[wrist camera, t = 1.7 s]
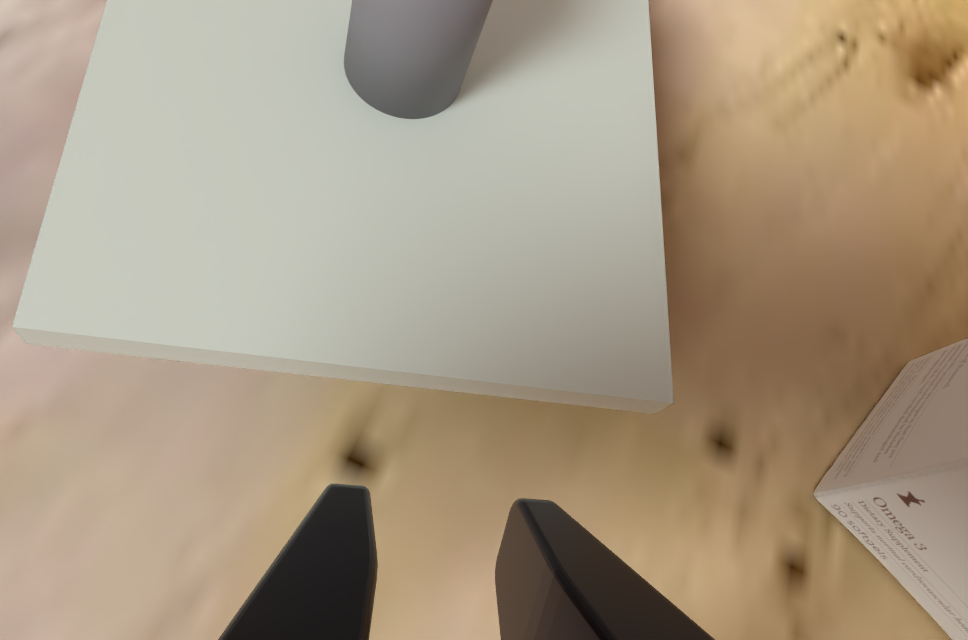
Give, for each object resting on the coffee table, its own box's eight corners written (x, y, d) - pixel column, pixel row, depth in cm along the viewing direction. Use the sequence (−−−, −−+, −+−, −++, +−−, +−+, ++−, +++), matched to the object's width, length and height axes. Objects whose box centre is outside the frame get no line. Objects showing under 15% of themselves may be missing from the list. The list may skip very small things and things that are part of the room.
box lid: (654, 413, 19) (812, 329, 13) (26, 344, 15) (-100, 195, 10) (631, -17, 24) (737, -201, 19) (160, -135, 21) (125, -400, 15)
